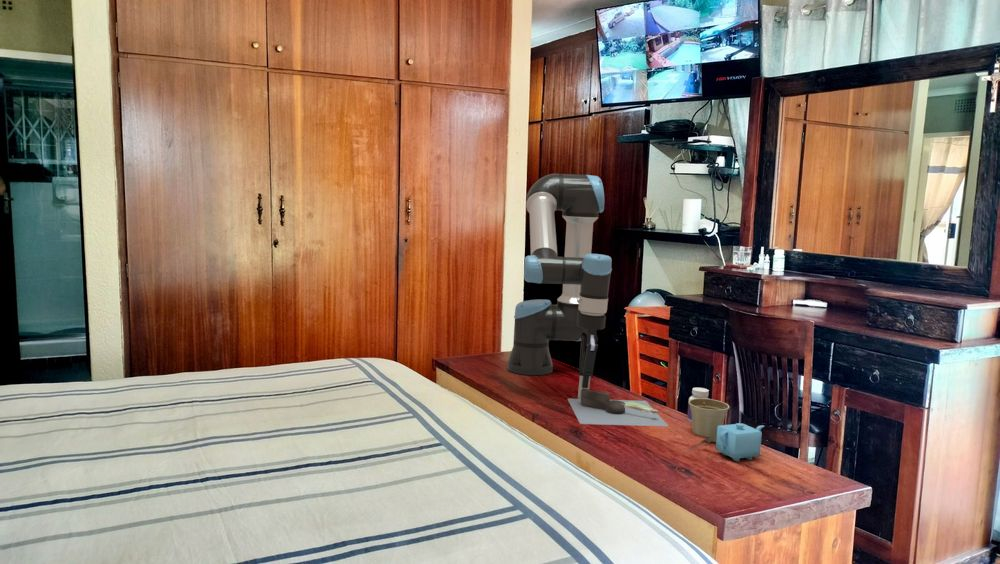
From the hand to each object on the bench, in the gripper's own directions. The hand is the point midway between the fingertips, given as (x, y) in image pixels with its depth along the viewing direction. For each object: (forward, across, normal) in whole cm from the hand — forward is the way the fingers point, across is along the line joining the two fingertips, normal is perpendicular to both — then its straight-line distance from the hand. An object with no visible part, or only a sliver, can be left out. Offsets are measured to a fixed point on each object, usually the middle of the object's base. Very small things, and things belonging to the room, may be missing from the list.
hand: (582, 398), depth 182 cm
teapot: (+1, +32, +31) cm, 44 cm away
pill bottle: (+2, +12, +28) cm, 30 cm away
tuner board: (+3, +6, +8) cm, 10 cm away
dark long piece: (+1, +6, +8) cm, 10 cm away
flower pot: (+1, +21, +27) cm, 34 cm away
